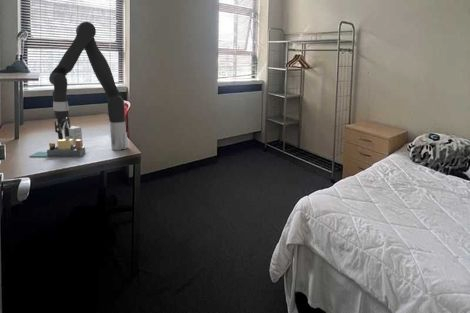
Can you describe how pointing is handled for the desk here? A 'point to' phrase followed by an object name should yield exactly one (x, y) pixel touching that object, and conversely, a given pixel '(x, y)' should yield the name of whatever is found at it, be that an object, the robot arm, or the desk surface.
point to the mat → (39, 154)
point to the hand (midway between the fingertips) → (64, 137)
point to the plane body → (66, 150)
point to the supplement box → (74, 134)
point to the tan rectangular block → (65, 143)
